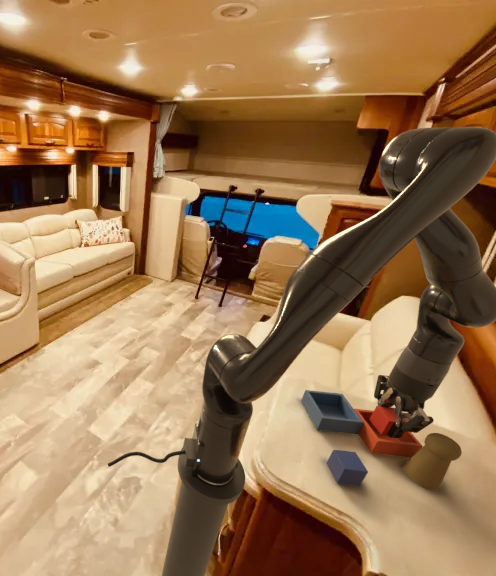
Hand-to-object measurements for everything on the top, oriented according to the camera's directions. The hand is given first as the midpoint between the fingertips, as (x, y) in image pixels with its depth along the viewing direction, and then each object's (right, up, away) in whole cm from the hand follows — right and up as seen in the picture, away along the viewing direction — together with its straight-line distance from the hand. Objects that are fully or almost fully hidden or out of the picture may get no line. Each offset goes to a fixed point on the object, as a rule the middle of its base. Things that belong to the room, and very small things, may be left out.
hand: (385, 427), depth 75 cm
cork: (+2, -8, -7) cm, 10 cm away
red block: (0, 0, 0) cm, 0 cm away
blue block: (-15, -7, -7) cm, 18 cm away
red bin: (0, -3, +2) cm, 4 cm away
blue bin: (-9, 0, +7) cm, 11 cm away
